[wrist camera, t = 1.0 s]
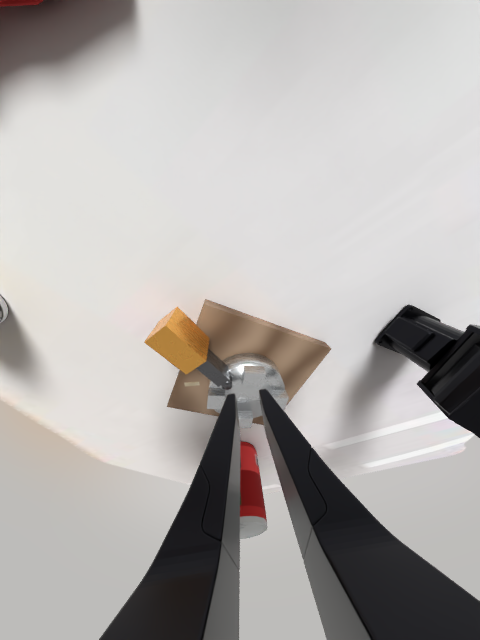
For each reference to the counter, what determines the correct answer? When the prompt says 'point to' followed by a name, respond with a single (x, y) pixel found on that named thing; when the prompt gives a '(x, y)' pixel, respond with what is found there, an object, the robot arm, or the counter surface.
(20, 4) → the screwdriver
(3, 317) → the supplement bottle
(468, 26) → the counter surface
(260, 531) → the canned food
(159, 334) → the silver tabbed disc tool
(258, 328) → the board
